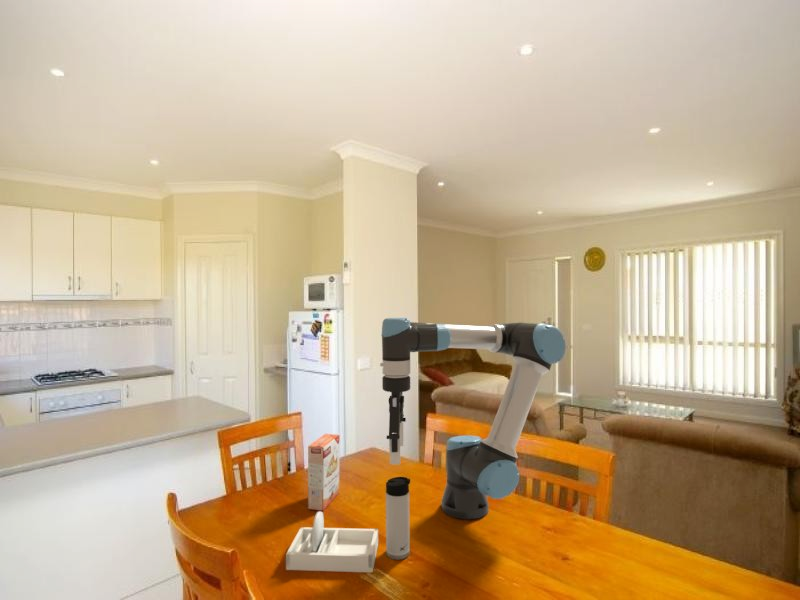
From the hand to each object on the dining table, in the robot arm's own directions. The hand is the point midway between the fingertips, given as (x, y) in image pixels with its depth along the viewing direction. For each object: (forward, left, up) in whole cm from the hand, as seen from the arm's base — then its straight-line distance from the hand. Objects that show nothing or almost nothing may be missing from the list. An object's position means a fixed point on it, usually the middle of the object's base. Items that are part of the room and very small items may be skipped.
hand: (397, 454), depth 117 cm
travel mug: (0, 0, -27) cm, 27 cm away
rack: (+17, +2, -27) cm, 32 cm away
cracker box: (+27, -29, -27) cm, 48 cm away
